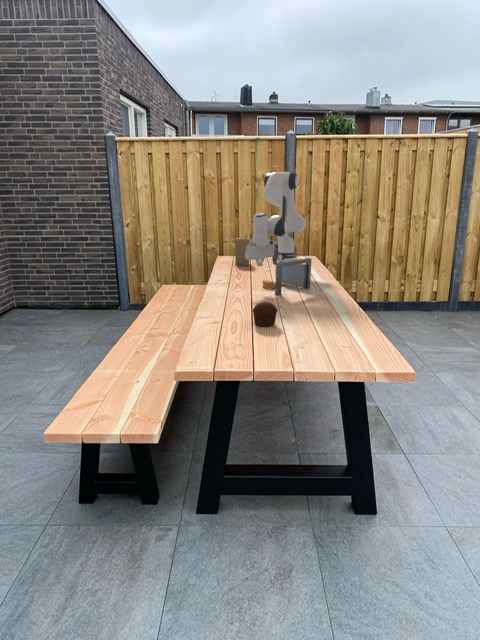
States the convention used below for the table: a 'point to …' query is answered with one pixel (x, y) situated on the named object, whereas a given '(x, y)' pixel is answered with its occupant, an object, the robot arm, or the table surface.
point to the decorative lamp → (277, 251)
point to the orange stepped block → (269, 284)
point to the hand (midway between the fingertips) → (259, 266)
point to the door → (294, 274)
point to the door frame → (288, 263)
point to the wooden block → (241, 251)
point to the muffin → (264, 314)
